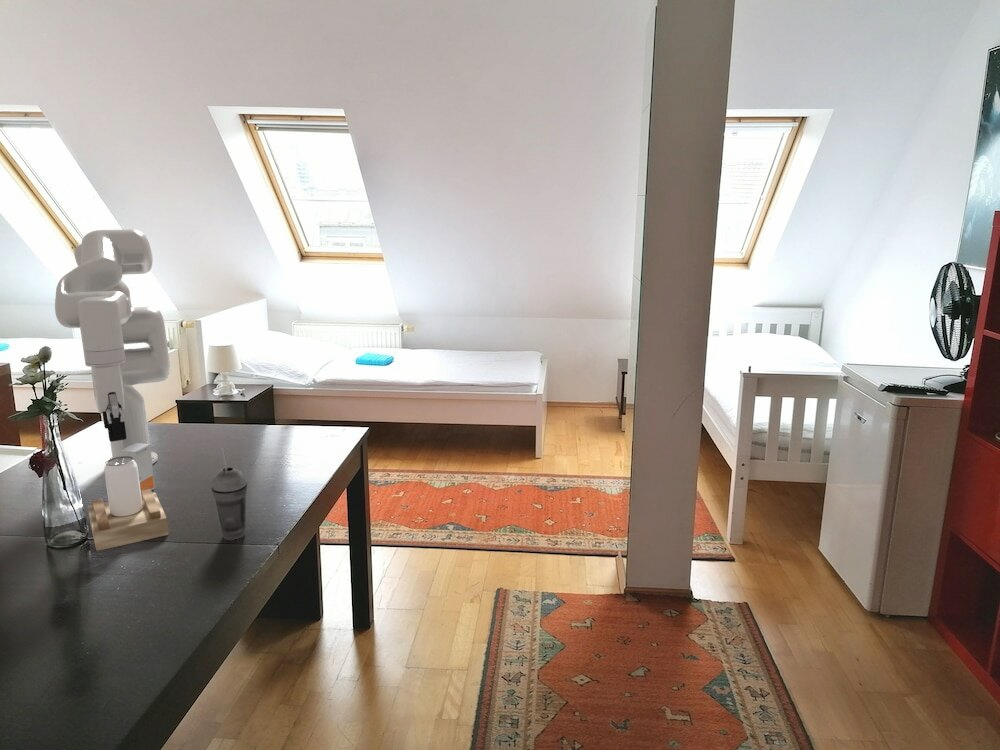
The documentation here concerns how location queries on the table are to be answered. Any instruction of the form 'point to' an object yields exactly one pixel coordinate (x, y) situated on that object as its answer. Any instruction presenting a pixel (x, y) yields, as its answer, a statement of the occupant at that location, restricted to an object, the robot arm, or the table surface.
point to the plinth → (127, 523)
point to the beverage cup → (230, 500)
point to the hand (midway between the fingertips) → (115, 433)
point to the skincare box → (142, 463)
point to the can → (123, 486)
